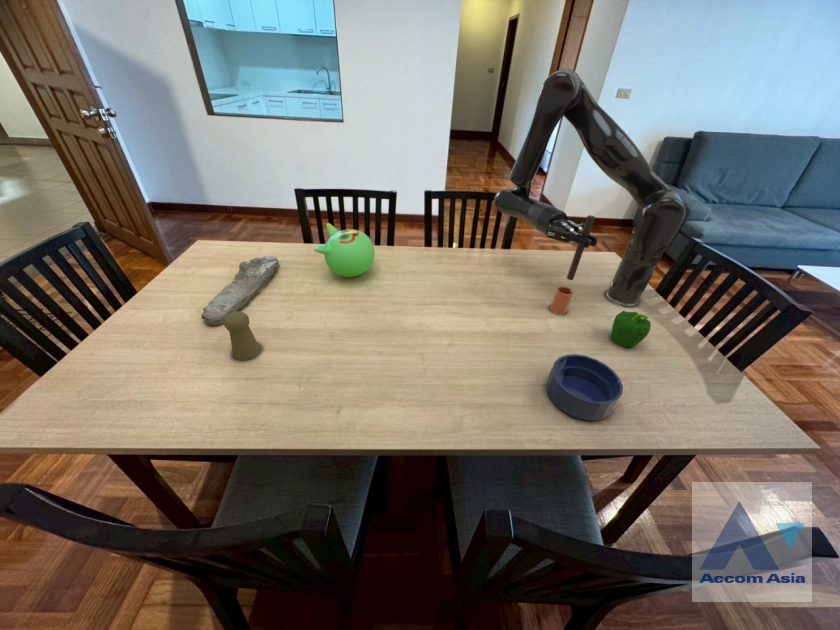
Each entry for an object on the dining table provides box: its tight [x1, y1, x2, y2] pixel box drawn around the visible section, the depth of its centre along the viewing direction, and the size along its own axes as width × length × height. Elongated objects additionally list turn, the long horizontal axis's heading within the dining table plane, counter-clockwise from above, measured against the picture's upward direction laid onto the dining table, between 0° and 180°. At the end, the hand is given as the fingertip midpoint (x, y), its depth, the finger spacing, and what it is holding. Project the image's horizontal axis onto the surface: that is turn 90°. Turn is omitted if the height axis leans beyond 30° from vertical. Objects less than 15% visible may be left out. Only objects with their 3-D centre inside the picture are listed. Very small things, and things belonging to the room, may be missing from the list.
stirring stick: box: [566, 214, 596, 281], centre depth 93 cm, size 2×2×18 cm
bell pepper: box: [610, 310, 652, 348], centre depth 92 cm, size 8×8×10 cm
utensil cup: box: [550, 285, 574, 314], centre depth 104 cm, size 5×5×7 cm
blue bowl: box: [545, 353, 624, 422], centre depth 78 cm, size 14×14×6 cm
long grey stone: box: [200, 255, 280, 326], centre depth 105 cm, size 35×5×10 cm
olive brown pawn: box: [223, 310, 261, 361], centre depth 82 cm, size 6×6×11 cm
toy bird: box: [313, 222, 376, 278], centre depth 113 cm, size 18×17×15 cm
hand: (592, 243), depth 90 cm, fingers closed on stirring stick, 2 cm apart
